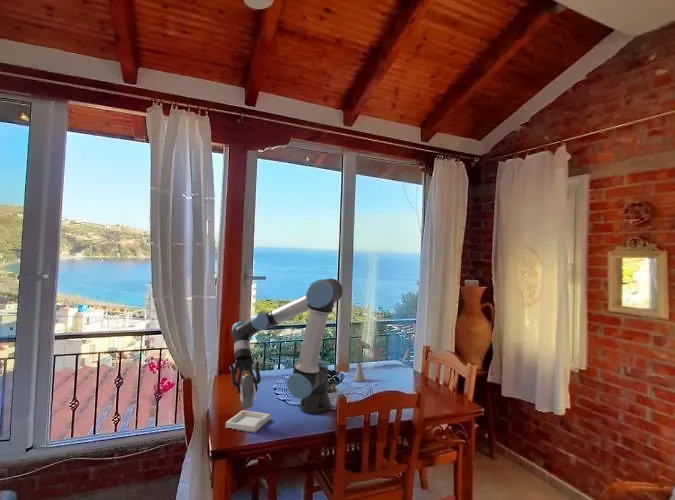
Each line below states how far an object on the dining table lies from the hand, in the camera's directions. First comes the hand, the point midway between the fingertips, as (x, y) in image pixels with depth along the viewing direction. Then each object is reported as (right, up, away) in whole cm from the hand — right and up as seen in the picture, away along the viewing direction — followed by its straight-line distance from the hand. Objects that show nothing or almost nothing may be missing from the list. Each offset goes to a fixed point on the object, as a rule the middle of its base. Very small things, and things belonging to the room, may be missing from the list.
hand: (248, 399), depth 175 cm
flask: (+51, -13, +65) cm, 83 cm away
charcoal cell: (-2, -4, +3) cm, 6 cm away
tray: (-1, -12, +3) cm, 12 cm away
